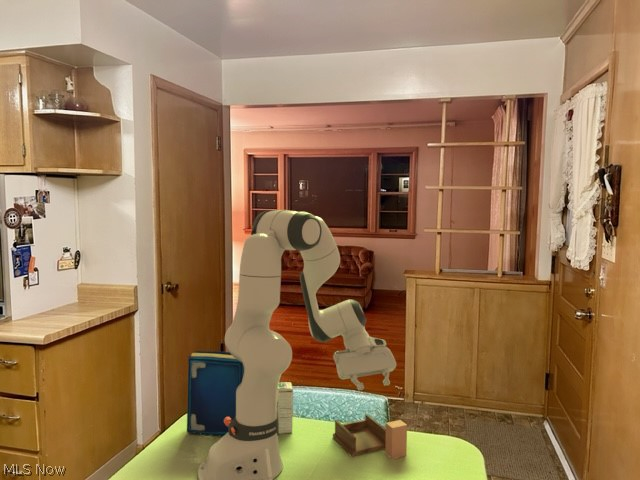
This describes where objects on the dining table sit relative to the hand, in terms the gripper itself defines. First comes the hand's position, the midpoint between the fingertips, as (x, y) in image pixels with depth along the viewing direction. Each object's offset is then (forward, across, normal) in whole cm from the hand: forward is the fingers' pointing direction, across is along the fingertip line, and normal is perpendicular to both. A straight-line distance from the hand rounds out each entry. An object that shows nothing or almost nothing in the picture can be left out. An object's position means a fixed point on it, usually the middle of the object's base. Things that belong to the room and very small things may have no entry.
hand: (374, 387), depth 140 cm
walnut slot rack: (+12, -6, +9) cm, 17 cm away
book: (-4, -43, +25) cm, 50 cm away
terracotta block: (+20, 0, +2) cm, 20 cm away
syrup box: (0, -25, +21) cm, 33 cm away
